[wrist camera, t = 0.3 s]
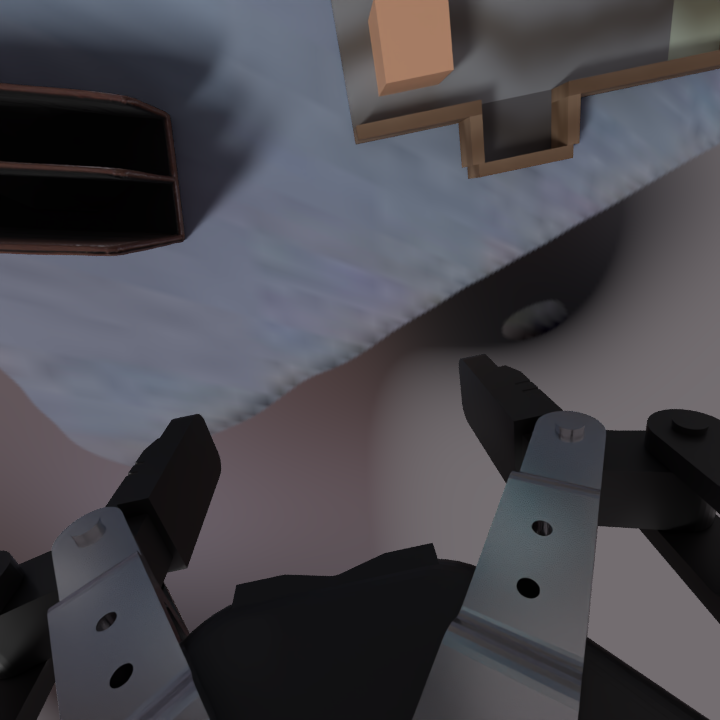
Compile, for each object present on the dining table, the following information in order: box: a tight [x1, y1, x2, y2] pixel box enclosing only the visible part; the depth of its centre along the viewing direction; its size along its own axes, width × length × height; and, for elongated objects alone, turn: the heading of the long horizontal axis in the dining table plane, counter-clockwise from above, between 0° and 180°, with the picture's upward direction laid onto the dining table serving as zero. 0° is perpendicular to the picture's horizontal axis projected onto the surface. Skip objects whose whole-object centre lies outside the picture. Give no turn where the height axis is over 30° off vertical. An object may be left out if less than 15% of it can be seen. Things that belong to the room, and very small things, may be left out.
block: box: [368, 0, 454, 97], centre depth 29 cm, size 5×5×4 cm
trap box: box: [331, 0, 720, 179], centre depth 30 cm, size 20×32×3 cm, turn 101°
